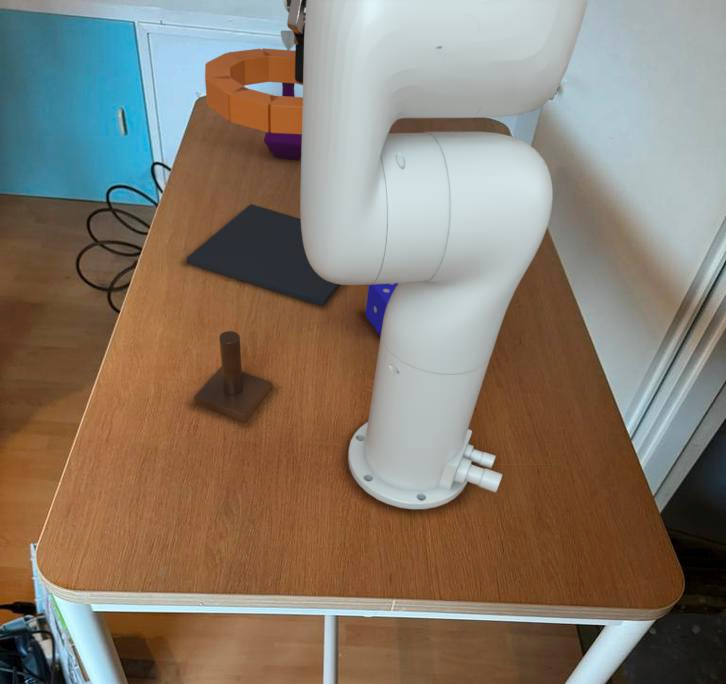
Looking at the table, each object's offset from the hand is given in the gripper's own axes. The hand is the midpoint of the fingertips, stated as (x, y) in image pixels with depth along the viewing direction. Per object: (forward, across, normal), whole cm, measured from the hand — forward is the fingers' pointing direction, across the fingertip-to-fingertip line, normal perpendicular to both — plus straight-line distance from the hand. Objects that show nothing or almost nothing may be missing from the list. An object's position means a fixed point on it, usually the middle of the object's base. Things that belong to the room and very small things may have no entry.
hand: (313, 77), depth 80 cm
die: (+20, -16, -19) cm, 32 cm away
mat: (+20, -8, 0) cm, 22 cm away
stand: (+20, -38, -9) cm, 44 cm away
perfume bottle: (+20, +22, +14) cm, 33 cm away
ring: (+1, -8, 0) cm, 8 cm away
